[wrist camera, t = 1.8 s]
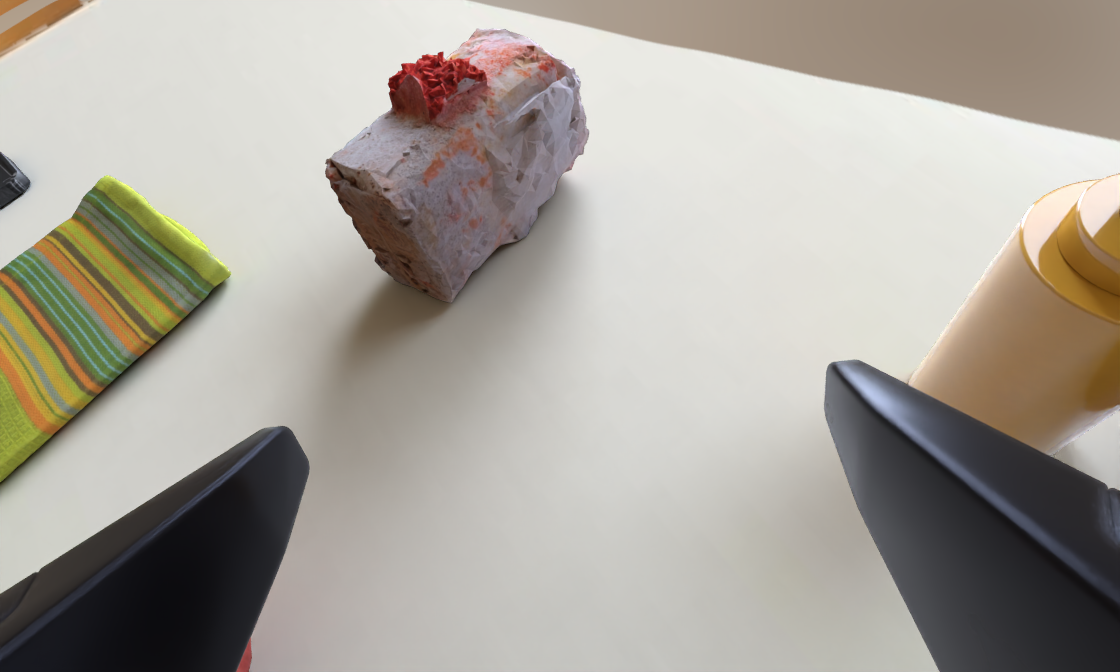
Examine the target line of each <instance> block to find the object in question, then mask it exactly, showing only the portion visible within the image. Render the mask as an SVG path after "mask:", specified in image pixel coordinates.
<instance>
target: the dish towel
mask: <svg viewBox="0 0 1120 672" xmlns="http://www.w3.org/2000/svg"><path fill="white" fill-rule="evenodd" d="M230 275H231V272H230V271H228V268H227V267H226V266H225V265H224V264H223V263H222V262H221V261H219V260H218V259H217V258H216V257H215V256H214V255H212V254H211V253H210V251H209V249H208V248H207V247H206V246H205V244H204V243H203V242H202V241H201V240H199V239H198V238H197V237H196V236H195V235H194V234H193V233H191V232H190V231H189V230H187V229H186V228H185V227H183V226H182V225H180V224H178V223H177V222H176V221H175V220H173V219H171V218H169V217H167V216H164V215H162V214H160V213H158V212H157V211H156V210H155V209H154V208H153V207H151V206H150V205H149V203H148V202H147V200H146V199H145V198H144V197H143V196H141V195H140V194H138V193H137V192H136V191H134V190H133V189H132V188H131V187H130V186H128V185H125V184H124V183H122V182H120V181H118V180H116V179H115V178H113V177H111V176H108V175H106V176H104V177H103V178H101V179H100V180H99V181H98V182H97V183H96V185H95V186H94V187H93V188H92V190H90V191H89V192H88V193H87V194H86V195H85V196H84V197H83V199H82V201H81V202H80V204H79V206H78V208H77V209H76V211H75V213H74V214H73V216H72V218H70V219H69V220H67V221H65V222H64V223H62V224H61V225H59V226H58V227H56V228H55V229H54V230H53V231H51V232H50V233H49V234H47V235H46V236H45V237H44V238H42V239H41V240H40V241H39V242H37V243H36V244H35V245H34V246H32V247H31V248H29V249H28V250H26V251H25V252H24V253H22V254H21V255H19V256H18V257H17V258H15V259H14V260H13V261H11V262H10V263H9V264H8V265H6V266H5V267H4V268H2V269H1V270H0V482H1V481H2V480H3V479H5V478H6V477H7V476H8V475H9V474H10V473H12V472H13V471H14V470H15V469H16V467H18V466H19V465H20V464H22V463H23V462H24V461H25V460H26V459H27V458H28V457H29V456H30V455H31V454H33V453H34V452H35V451H36V450H37V449H38V448H39V447H40V446H41V445H42V444H44V443H45V442H46V441H47V440H48V439H49V438H50V437H51V436H52V435H53V434H54V433H56V432H57V431H58V430H59V429H60V428H61V427H62V426H63V425H65V424H66V423H67V422H68V421H69V420H70V419H71V418H72V417H74V416H75V415H76V414H77V413H78V412H79V411H80V410H81V409H83V408H84V407H85V406H86V405H87V404H88V403H89V402H90V401H91V400H92V399H94V398H95V397H96V396H97V395H98V394H99V393H100V392H101V391H102V390H103V389H104V388H105V387H106V386H107V385H109V384H110V383H111V382H112V381H113V380H114V379H115V378H116V377H117V376H118V375H120V374H121V373H122V372H123V371H124V370H125V369H126V368H127V367H128V366H130V365H131V364H132V363H133V362H134V361H135V360H136V359H138V358H139V357H140V356H141V355H142V354H143V353H145V352H146V351H147V350H148V349H149V348H150V347H152V346H153V345H154V344H155V343H156V342H157V341H158V340H160V339H161V338H162V337H163V336H164V335H165V334H166V333H168V332H169V331H170V330H171V329H172V328H173V327H174V326H176V325H177V324H178V323H179V322H180V321H181V320H182V319H183V318H184V317H185V316H186V315H188V314H189V313H190V312H191V311H192V310H193V309H194V308H195V307H196V306H197V305H198V304H199V303H200V302H202V301H203V300H204V299H205V298H206V297H207V296H208V294H209V293H210V291H211V290H212V289H213V288H214V287H216V286H217V285H218V284H220V283H221V282H223V281H224V280H225V279H227V278H228V277H229V276H230Z"/></svg>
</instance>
